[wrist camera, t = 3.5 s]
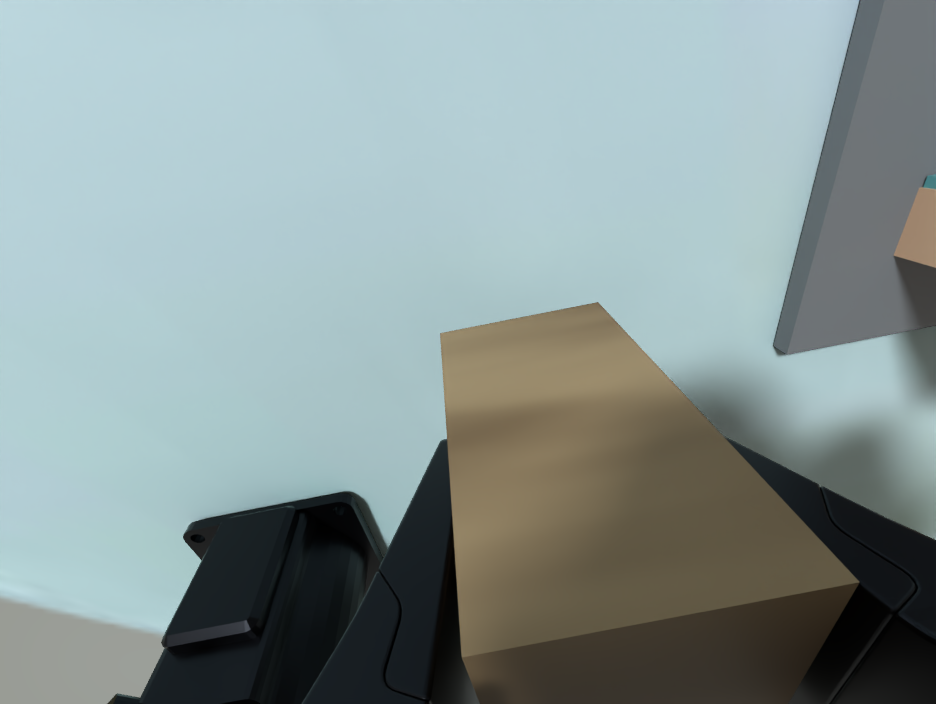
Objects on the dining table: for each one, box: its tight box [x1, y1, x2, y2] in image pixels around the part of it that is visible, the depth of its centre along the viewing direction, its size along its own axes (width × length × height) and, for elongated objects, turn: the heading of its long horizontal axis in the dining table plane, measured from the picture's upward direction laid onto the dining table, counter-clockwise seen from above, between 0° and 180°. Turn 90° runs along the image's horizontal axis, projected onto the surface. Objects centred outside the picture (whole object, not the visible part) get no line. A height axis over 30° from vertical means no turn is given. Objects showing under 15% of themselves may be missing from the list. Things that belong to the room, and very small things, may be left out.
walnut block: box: [440, 302, 860, 704], centre depth 8 cm, size 4×4×7 cm
